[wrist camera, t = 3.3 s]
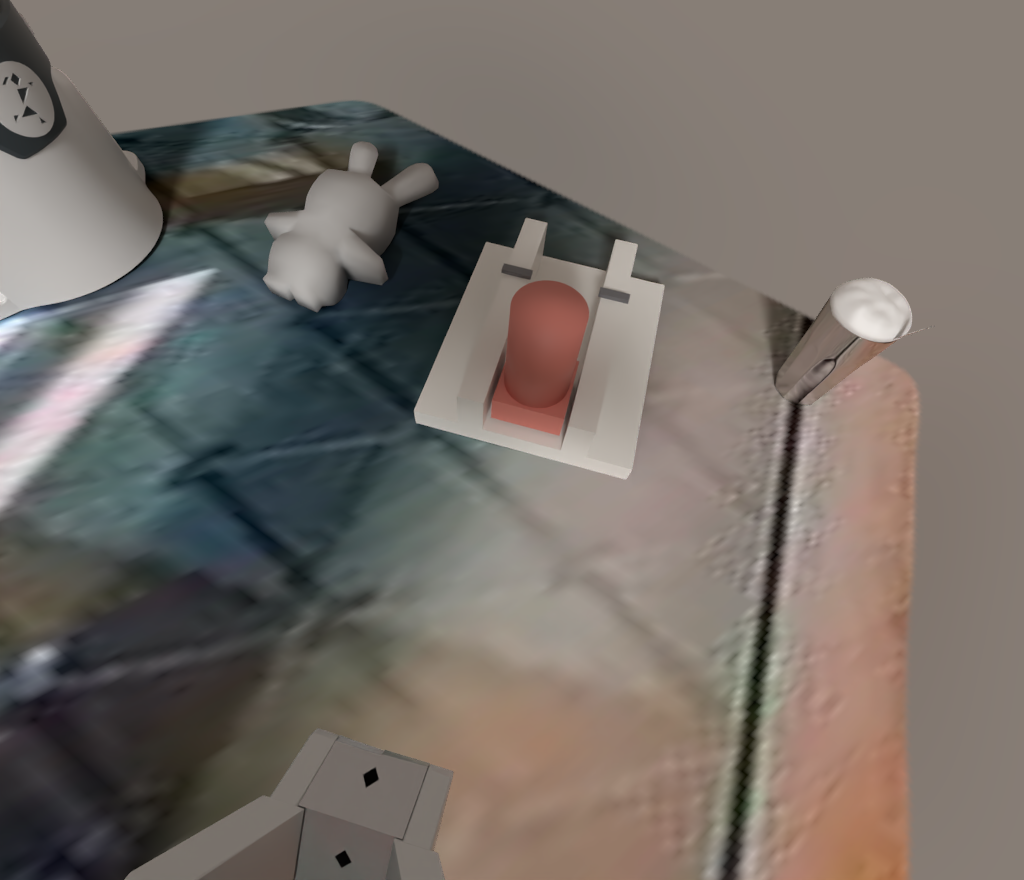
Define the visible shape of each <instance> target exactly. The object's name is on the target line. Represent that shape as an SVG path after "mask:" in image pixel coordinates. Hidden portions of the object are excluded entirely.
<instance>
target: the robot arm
mask: <svg viewBox="0 0 1024 880" xmlns="http://www.w3.org/2000/svg"><path fill="white" fill-rule="evenodd" d="M162 224H163V214H162V209H161V206H160V204H159V202H158V200H157V199H156V197H155V196H154V195H153V194H152V193H151V191H150V190H149V189H148V188H147V186H146V184H145V169H144V166H143V164H142V163H141V162H140V160H139V159H138V157H137V156H136V155H135V154H134V153H132V152H129V151H123V150H122V149H121V148H120V147H119V145H118V144H117V142H116V141H115V140H114V138H113V137H112V136H111V134H110V133H109V131H108V130H107V129H106V127H105V126H104V125H103V123H102V122H101V120H100V119H99V118H98V116H97V115H96V114H95V112H94V111H93V110H92V108H91V107H90V105H89V104H88V103H87V102H86V100H85V99H84V97H83V96H82V95H81V94H80V92H79V91H78V90H77V88H76V87H75V85H74V84H73V82H72V81H71V80H70V79H69V77H68V76H67V75H66V74H65V73H63V72H62V71H61V70H60V69H58V68H54V67H53V66H51V65H50V62H49V59H48V57H47V56H46V54H45V53H44V51H43V50H42V48H41V46H40V45H39V43H38V42H37V40H36V39H35V37H34V33H33V31H32V29H31V28H30V26H29V25H28V23H27V22H26V20H25V19H24V17H23V16H22V15H21V14H20V13H18V12H17V10H16V9H15V7H14V6H13V4H12V3H11V1H10V0H0V320H1V319H4V318H6V317H8V316H10V315H13V314H15V313H17V312H19V311H21V310H25V309H28V308H32V307H37V306H42V305H48V304H53V303H58V302H63V301H67V300H71V299H74V298H77V297H80V296H83V295H86V294H89V293H91V292H94V291H96V290H98V289H101V288H103V287H105V286H107V285H109V284H110V283H112V282H114V281H116V280H117V279H119V278H121V277H122V276H124V275H125V274H127V273H128V272H129V271H131V270H132V269H133V268H134V267H135V266H137V265H138V264H139V263H140V262H141V261H142V260H143V259H144V258H145V257H146V256H147V255H148V253H149V252H150V251H151V250H152V248H153V247H154V245H155V243H156V242H157V240H158V238H159V235H160V233H161V229H162ZM453 773H454V772H453V771H451V770H448V769H445V768H441V767H438V766H435V765H432V764H430V763H427V762H423V761H420V760H417V759H413V758H410V757H407V756H403V755H400V754H397V753H393V752H390V751H387V750H385V751H384V750H381V749H378V748H375V747H372V746H369V745H366V744H364V743H361V742H358V741H355V740H352V739H349V738H346V737H344V736H341V735H337V734H334V733H331V732H328V731H325V730H322V729H319V728H317V729H316V730H315V731H314V732H313V733H312V734H311V735H310V737H309V738H308V740H307V741H306V743H305V744H304V746H303V747H302V749H301V750H300V752H299V753H298V755H297V757H296V758H295V760H294V761H293V763H292V764H291V766H290V767H289V769H288V770H287V772H286V773H285V775H284V777H283V778H282V780H281V781H280V783H279V784H278V786H277V787H276V789H275V790H274V792H273V793H272V795H271V797H267V796H264V795H263V796H261V797H259V798H257V799H256V800H254V801H252V802H251V803H249V804H247V805H245V806H244V807H242V808H240V809H239V810H237V811H235V812H233V813H232V814H230V815H228V816H226V817H225V818H223V819H221V820H220V821H218V822H216V823H214V824H213V825H211V826H209V827H208V828H206V829H204V830H202V831H201V832H199V833H197V834H196V835H194V836H192V837H190V838H189V839H187V840H185V841H184V842H182V843H180V844H178V845H177V846H175V847H173V848H172V849H170V850H168V851H166V852H165V853H163V854H161V855H160V856H158V857H156V858H154V859H153V860H151V861H149V862H147V863H146V864H144V865H142V866H141V867H139V868H137V869H135V870H134V871H132V872H130V873H129V875H128V876H127V877H126V878H125V880H445V878H444V874H443V870H442V866H441V862H440V858H439V854H438V853H437V852H434V848H435V844H436V840H437V836H438V832H439V829H440V825H441V821H442V817H443V813H444V809H445V805H446V801H447V797H448V793H449V789H450V786H451V782H452V778H453Z"/></svg>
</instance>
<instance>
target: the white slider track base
mask: <svg viewBox="0 0 1024 880" xmlns="http://www.w3.org/2000/svg"><path fill="white" fill-rule="evenodd" d="M546 230H547V223H546V222H542V221H538V220H534V219H529V218H526V219H525V221H524V224H523V226H522V229H521V232H520V234H519V237H518V239H517V242H516V245H515V247H514V249H513V248H509V247H505V246H501V245H497V244H493V243H489V242H486V244H485V246H484V248H483V251H482V253H481V255H480V258H479V260H478V262H477V265H476V267H475V269H474V272H473V274H472V276H471V279H470V281H469V283H468V286H467V288H466V290H465V293H464V295H463V297H462V300H461V302H460V304H459V307H458V309H457V311H456V314H455V316H454V318H453V321H452V323H451V325H450V328H449V330H448V332H447V335H446V337H445V339H444V342H443V344H442V346H441V348H440V351H439V353H438V355H437V358H436V360H435V362H434V365H433V367H432V369H431V372H430V374H429V376H428V379H427V381H426V383H425V386H424V388H423V390H422V393H421V395H420V397H419V400H418V402H417V404H416V407H415V409H414V415H415V420H416V423H418V424H422V425H426V426H430V427H433V428H437V429H441V430H444V431H448V432H452V433H455V434H459V435H463V436H466V437H470V438H474V439H478V440H481V441H485V442H489V443H492V444H496V445H500V446H503V447H507V448H511V449H515V450H518V451H522V452H526V453H529V454H533V455H537V456H540V457H544V458H548V459H551V460H555V461H559V462H563V463H566V464H570V465H574V466H577V467H581V468H585V469H588V470H592V471H596V472H599V473H603V474H607V475H611V476H614V477H618V478H622V479H625V480H626V479H627V477H628V476H629V474H630V472H631V471H632V468H633V462H634V456H635V451H636V445H637V439H638V434H639V428H640V422H641V417H642V411H643V405H644V400H645V394H646V388H647V383H648V377H649V371H650V366H651V360H652V354H653V349H654V343H655V337H656V332H657V326H658V320H659V315H660V309H661V303H662V298H663V292H664V286H665V285H662V284H657V283H653V282H649V281H645V280H641V279H637V278H633V277H631V273H632V269H633V264H634V260H635V255H636V251H637V246H638V244H634V243H630V242H626V241H622V240H617V239H616V240H615V243H614V247H613V250H612V254H611V257H610V260H609V264H608V267H607V271H604V270H600V269H596V268H592V267H588V266H583V265H579V264H575V263H571V262H567V261H563V260H559V259H555V258H551V257H546V256H543V250H544V243H545V236H546ZM542 280H550V281H557V282H561V283H564V284H566V285H569V286H571V287H572V288H574V289H575V290H577V291H578V292H579V293H580V294H581V295H582V296H583V297H584V299H585V300H586V302H587V305H588V308H589V319H588V323H587V326H586V330H585V333H584V337H583V340H582V344H581V347H580V351H579V354H578V358H577V361H579V365H578V368H577V372H576V376H575V380H574V384H573V388H572V391H571V395H570V399H569V403H568V407H567V411H566V415H565V418H564V422H563V425H562V429H561V432H560V435H559V436H558V435H554V434H551V433H547V432H543V431H539V430H536V429H532V428H528V427H525V426H521V425H517V424H513V423H510V422H506V421H502V420H498V419H495V418H491V408H492V399H493V396H494V393H495V390H496V387H497V384H498V381H499V378H500V375H501V373H502V370H503V367H504V364H505V361H506V350H507V339H508V328H509V316H510V305H511V300H512V298H513V296H514V295H515V293H516V292H517V291H518V290H519V289H520V288H522V287H523V286H525V285H527V284H529V283H532V282H535V281H542Z"/></svg>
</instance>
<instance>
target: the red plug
mask: <svg viewBox="0 0 1024 880" xmlns="http://www.w3.org/2000/svg"><path fill="white" fill-rule="evenodd" d="M588 319H589V308H588V305H587V302H586V300H585V299H584V297H583V296H582V295H581V294H580V293H579V292H578V291H577V290H575V289H574V288H572V287H571V286H569V285H566V284H564V283H561V282H557V281H550V280H542V281H535V282H532V283H529V284H527V285H525V286H523V287H522V288H520V289H519V290H518V291H517V292H516V293H515V295H514V296H513V298H512V300H511V305H510V316H509V328H508V339H507V350H506V361H505V364H504V367H503V370H502V373H501V375H500V378H499V381H498V384H497V387H496V390H495V393H494V396H493V399H492V408H491V418H495V419H498V420H502V421H506V422H510V423H513V424H517V425H521V426H525V427H528V428H532V429H536V430H539V431H543V432H547V433H551V434H554V435H558V436H559V435H560V432H561V429H562V425H563V422H564V418H565V415H566V411H567V407H568V403H569V399H570V395H571V391H572V388H573V384H574V380H575V376H576V372H577V368H578V365H579V361H577V358H578V354H579V351H580V347H581V344H582V340H583V337H584V333H585V330H586V326H587V323H588Z"/></svg>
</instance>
